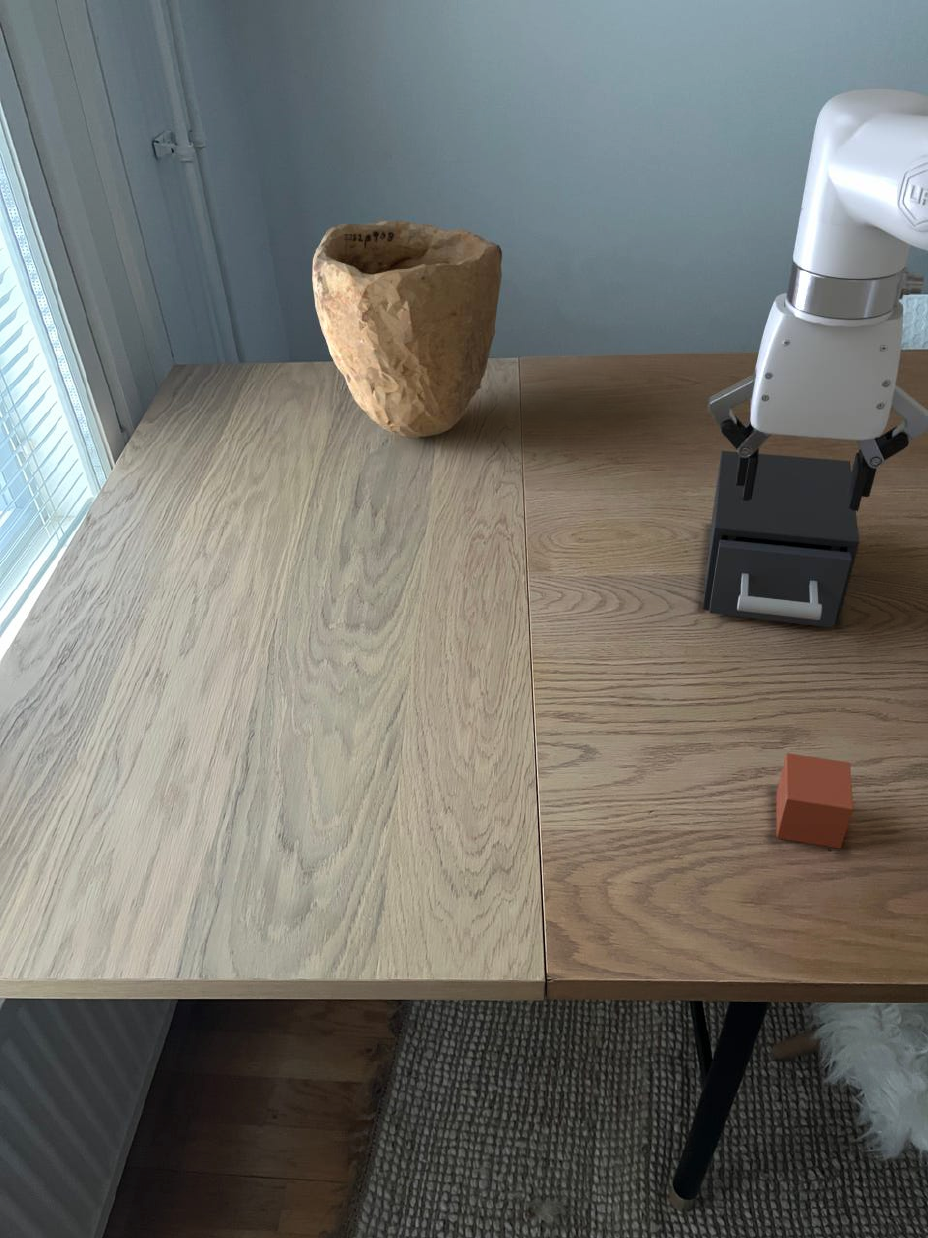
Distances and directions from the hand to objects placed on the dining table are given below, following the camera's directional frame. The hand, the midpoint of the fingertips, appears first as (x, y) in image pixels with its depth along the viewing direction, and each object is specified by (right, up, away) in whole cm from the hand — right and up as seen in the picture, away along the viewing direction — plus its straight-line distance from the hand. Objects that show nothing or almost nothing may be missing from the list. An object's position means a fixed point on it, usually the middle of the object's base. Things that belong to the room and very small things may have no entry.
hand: (799, 496), depth 79 cm
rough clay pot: (-33, +14, +45) cm, 58 cm away
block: (-2, -26, -6) cm, 26 cm away
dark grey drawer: (+2, -8, +14) cm, 16 cm away
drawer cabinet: (+3, -6, +18) cm, 19 cm away
